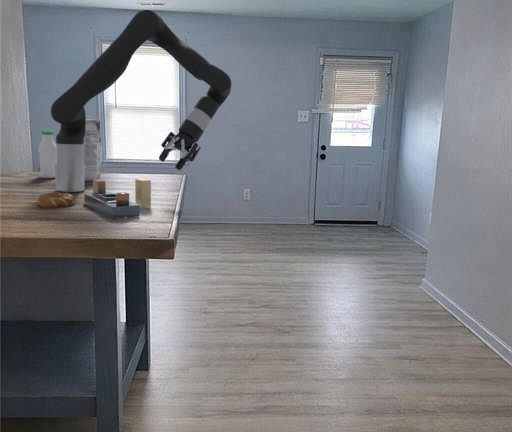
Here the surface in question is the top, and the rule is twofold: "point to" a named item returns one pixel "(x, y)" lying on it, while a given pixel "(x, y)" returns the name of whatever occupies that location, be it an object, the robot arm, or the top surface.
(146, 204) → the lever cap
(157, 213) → the top surface
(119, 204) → the plane body
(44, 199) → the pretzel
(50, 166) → the milk bottle
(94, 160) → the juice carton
